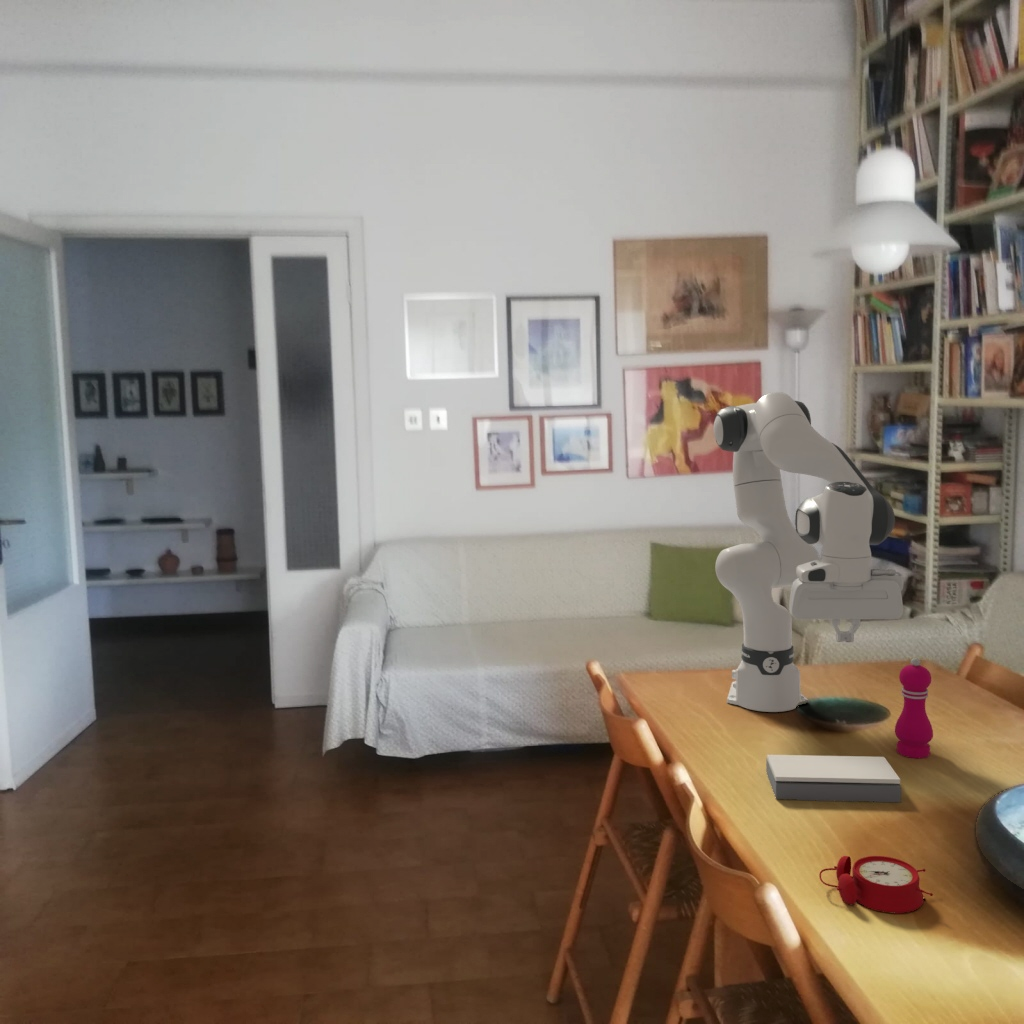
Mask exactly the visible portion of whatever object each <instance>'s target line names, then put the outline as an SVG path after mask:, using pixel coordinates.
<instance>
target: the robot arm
mask: <svg viewBox="0 0 1024 1024" xmlns="http://www.w3.org/2000/svg"><path fill="white" fill-rule="evenodd" d="M712 431H713V436H714V439H715V442H716V445H718V447H719V448H720V449H721V450H723V451H725V452H731V453H733V458H732V477H733V479H732V480H733V491H734V497H735V504H736V505H735V506H736V514H737V517H738V519H739V521H740V522H742V524H744V525H745V526H747V527H750V528H752V529H753V530H754V531H755V532H756V533H757V534H758V536H759V539H760V541H761V542H752V543H750V542H749V543H741V544H737V545H733V546H729V547H727V548H724V549H722V550H721V551H720V552H719V553H718V555H717V557H716V560H715V565H714V566H715V567H714V568H715V569H714V570H715V574H716V578H717V579H718V582H719V584H721V585H722V587H724V588H725V589H726V590H727V591H729V592H730V593H731V594H732V595H733V596H734V598H735V599H736V601H737V603H738V604H739V607H740V610H741V614H742V625H743V627H742V628H743V643H742V644H741V648H740V653H741V661H740V662H739V664H738V666H737V668H736V669H731V679H732V680H733V681H731V684H730V688H729V692H728V694H727V698H726V702H727V704H730V705H735V706H739V707H742V708H745V709H747V710H752V711H757V712H764V713H766V712H768V713H778V712H779V713H780V712H787V711H792V710H795V709H796V705H797V704H798V703H799V702H802V701H805V700H808V698H807V697H805V696H804V694H802V693H801V691H802V690H801V689H802V688H801V672H800V671H801V670H800V669H799V668H798V667H797V665H796V664H794V659H795V658H794V656H795V650H794V649H795V648H794V646H793V645H792V643H793V641H792V640H793V639H792V638H793V634H792V633H793V631H792V630H793V621H792V620H793V619H795V620H829V623H830V625H831V626H832V628H833V630H834V632H835V641H836V642H837V643H854V641H855V634H856V633H857V631H858V629H859V628H860V626H861V620H900V618H901V617H902V616H903V614H904V604H903V595H902V591H903V589H904V582H905V581H904V576H903V574H902V573H901V572H900V571H896V569H890V568H889V569H878V568H877V569H872V551H871V547H870V546H878V545H880V544H881V543H883V542H884V541H886V539H887V538H888V537H889V535H890V534H891V533H893V531H894V528H895V524H896V516H895V512H894V509H893V507H892V504H891V503H890V502H889V500H887V498H885V497H884V496H883V494H881V493H880V492H878V491H877V490H876V489H875V488H874V487H873V486H872V485H871V483H870V481H868V480H867V478H866V477H865V476H864V474H862V472H861V471H860V470H859V468H858V467H857V466H856V465H855V463H854V462H853V461H852V459H850V456H848V455H847V453H846V452H845V451H844V450H843V449H842V448H841V447H839V446H838V445H836V444H835V443H833V442H832V441H830V440H828V439H827V438H825V437H824V436H822V434H821V433H819V432H818V431H817V430H816V429H815V428H814V427H813V426H812V419H811V414H810V411H809V409H808V406H807V405H805V403H804V402H802V401H798V400H794V399H793V398H792V397H791V396H790V395H789V394H787V393H784V392H780V391H774V392H769V393H767V394H765V395H762V396H761V397H760V398H759V399H758V400H757V401H756V402H753V403H747V404H746V403H745V404H742V405H741V404H740V405H737V406H735V405H730V406H727V407H724V408H721V409H719V410H718V412H717V413H716V415H715V416H714V422H713V430H712ZM781 471H783V472H787V473H793V474H800V475H807V476H812V477H817V478H820V479H823V480H824V481H825V480H826V481H827V482H829V483H828V484H827V485H826V486H825V487H824V490H823V492H822V493H820V494H818V495H814V496H813V497H807V498H806V499H804V500H803V501H802V502H801V503H800V504H799V506H798V507H797V509H796V510H795V526H794V525H793V523H792V522H791V519H790V516H789V514H788V510H787V507H786V501H785V494H784V489H783V481H782V475H781ZM815 546H822V549H821V554H820V555H821V557H820V555H819V551H818V550H817V548H816V547H815ZM787 587H791V588H790V595H789V603H788V609H787V608H786V607H785V606H783V605H781V604H779V603H778V602H775V601H774V598H773V593H772V592H773V591H772V589H777V588H787ZM841 620H849V622H850V623H851V626H850V627H849V629H848V630H847V631H845V630H843V631H842V630H840V628H839V626H840V624H841ZM808 701H809V700H808Z"/></svg>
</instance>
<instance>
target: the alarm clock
mask: <svg viewBox="0 0 1024 1024" xmlns="http://www.w3.org/2000/svg"><path fill="white" fill-rule="evenodd" d="M833 867H834V868H833ZM833 867H829V868H824V869H821V871H819V879H820V880H819V881H821V883H822V884H823V885H825V886H828V887H831V888H836V890H837V891H838V893H839V896H840V898H841V899H842V900H843V903H845V902H846V903H845V904H847V905H850V904H854V905H855V904H856V903H858V904H859V903H860V904H859V905H861V904H862V905H861V906H863V905H864V906H863V907H865V908H867V907H868V908H867V909H870V908H871V909H870V910H873V909H874V910H873V911H876V910H878V911H877V912H880V911H884V912H883V913H886V912H893V913H892V914H905V913H904V912H907V913H911V912H910V911H912V912H914V910H915V911H916V909H917V910H919V909H920V908H921V907H922V906H923V904H924V900H923V897H924V894H927V895H929V896H930V897H933V896H934V894H933V893H932V892H927V891H925V890H922V889H921V888H920V881H921V880H920V875H919V873H920V872H924V873H925V872H926V871H927V870H926V869H925V868H922V869H916V868H915V867H914V866H913V865H911V864H910V863H908V862H906V861H904V860H901V859H898V858H894V857H890V856H885V855H884V856H883V855H870V856H869V855H868V856H864V857H862V858H861V857H860V858H859V859H857V860H856V861H855V862H854V863H853V866H852V859H851V856H848V855H842V856H841V857H840V858H839V859H838V862H837V865H834V866H833ZM826 871H836V873H835V874H836V880H837V885H836V884H835V885H834V884H830V883H827V882H825V881H824V880H823V878H822V873H823V872H826ZM851 872H852V875H851ZM856 901H857V902H856ZM921 905H922V906H921ZM920 906H921V907H920ZM919 907H920V908H919ZM894 912H895V913H894Z"/></svg>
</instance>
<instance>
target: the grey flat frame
mask: <svg viewBox="0 0 1024 1024" xmlns="http://www.w3.org/2000/svg"><path fill="white" fill-rule="evenodd" d="M765 759H766V763H765V764H766V767H765V768H766V769H765V770H766V772H767V773H766V772H765V773H766V775H768V776H767V778H768V780H769V783H770V784H769V785H770V787H771V786H772V787H771V789H773V790H772V792H774V793H773V795H774V794H775V795H774V798H775V797H776V798H775V800H776V799H797V800H796V801H815V800H816V801H820V802H821V801H823V802H826V801H827V802H828V801H829V802H858V801H869V802H868V803H872V802H873V801H874V802H873V803H902V800H901V799H902V786H901V783H900V784H893V783H879V784H878V783H830V782H795V781H775V778H774V776H773V773H772V770H771V768H770V765H769V763H768V760H767V757H766V758H765ZM834 800H835V801H834ZM843 800H844V801H843Z"/></svg>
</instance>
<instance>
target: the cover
mask: <svg viewBox="0 0 1024 1024" xmlns="http://www.w3.org/2000/svg"><path fill="white" fill-rule="evenodd" d="M766 758H767V760H768V763H769V765H770V768H771V770H772V773H773V776H774V778H775V781H783V782H795V781H798V782H845V783H879V784H900V785H901V778H900V777H899V776H898V774H897V773H896V771H895V770H894V769H893V767H892V766H891V764H890V763H889V762H888V760H887V759H886V758H885V756H867V755H866V756H865V755H864V756H862V755H861V756H860V755H859V756H857V755H856V756H854V755H853V756H852V755H851V756H850V755H808V754H807V755H802V754H801V755H800V754H799V755H798V754H797V755H796V754H793V755H792V754H766Z"/></svg>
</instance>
